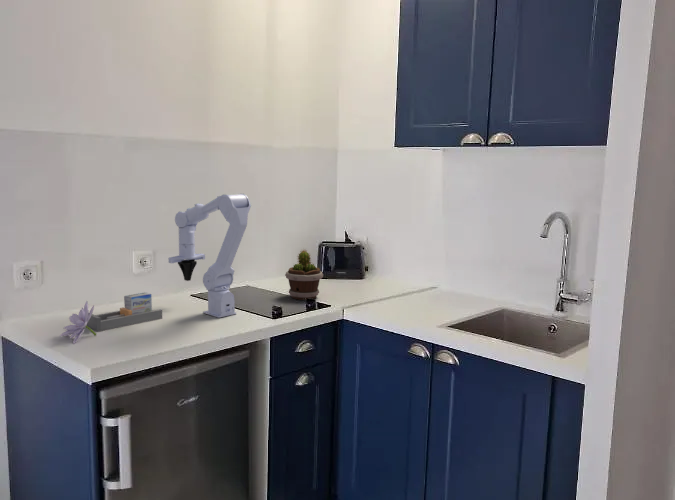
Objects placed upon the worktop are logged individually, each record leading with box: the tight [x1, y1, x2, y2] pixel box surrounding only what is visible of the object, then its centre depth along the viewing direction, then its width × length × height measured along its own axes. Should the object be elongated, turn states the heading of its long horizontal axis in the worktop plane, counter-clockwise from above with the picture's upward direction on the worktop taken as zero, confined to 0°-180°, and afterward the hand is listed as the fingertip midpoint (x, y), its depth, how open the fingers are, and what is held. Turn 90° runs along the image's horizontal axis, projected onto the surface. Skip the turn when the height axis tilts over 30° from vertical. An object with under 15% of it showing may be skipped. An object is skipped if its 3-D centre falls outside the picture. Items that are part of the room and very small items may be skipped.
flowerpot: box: [284, 249, 324, 301], centre depth 240 cm, size 14×15×20 cm
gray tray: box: [86, 309, 163, 332], centre depth 200 cm, size 9×23×4 cm, turn 138°
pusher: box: [107, 307, 132, 319], centre depth 198 cm, size 6×7×4 cm
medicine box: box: [123, 292, 153, 315], centre depth 203 cm, size 8×4×9 cm, turn 140°
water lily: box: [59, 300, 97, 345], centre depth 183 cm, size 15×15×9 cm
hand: (187, 280), depth 221 cm, fingers closed
